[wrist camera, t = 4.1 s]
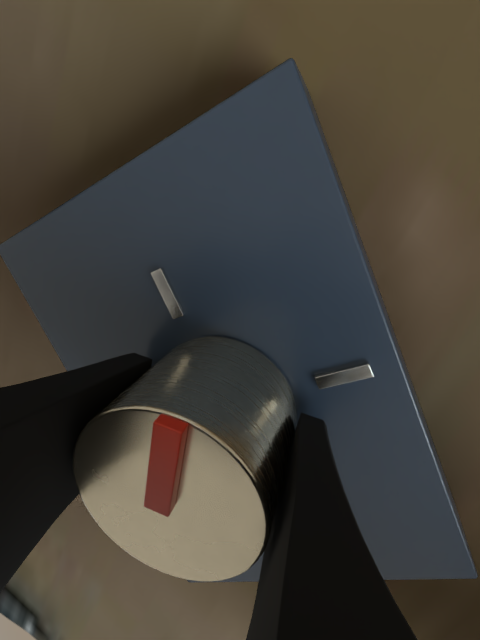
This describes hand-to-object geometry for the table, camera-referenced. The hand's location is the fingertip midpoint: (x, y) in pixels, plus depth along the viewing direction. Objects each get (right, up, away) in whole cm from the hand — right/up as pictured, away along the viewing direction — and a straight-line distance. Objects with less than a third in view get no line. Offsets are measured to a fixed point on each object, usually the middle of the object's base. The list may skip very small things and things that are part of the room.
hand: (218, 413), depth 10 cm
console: (+1, +1, +3) cm, 3 cm away
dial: (0, 0, 0) cm, 0 cm away
